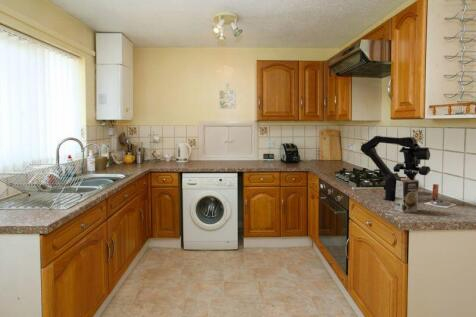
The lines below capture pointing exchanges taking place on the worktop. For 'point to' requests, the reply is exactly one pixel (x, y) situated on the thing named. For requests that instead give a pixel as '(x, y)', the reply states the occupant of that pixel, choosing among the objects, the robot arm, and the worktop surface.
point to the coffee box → (406, 195)
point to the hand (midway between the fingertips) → (413, 181)
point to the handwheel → (435, 197)
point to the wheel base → (440, 205)
